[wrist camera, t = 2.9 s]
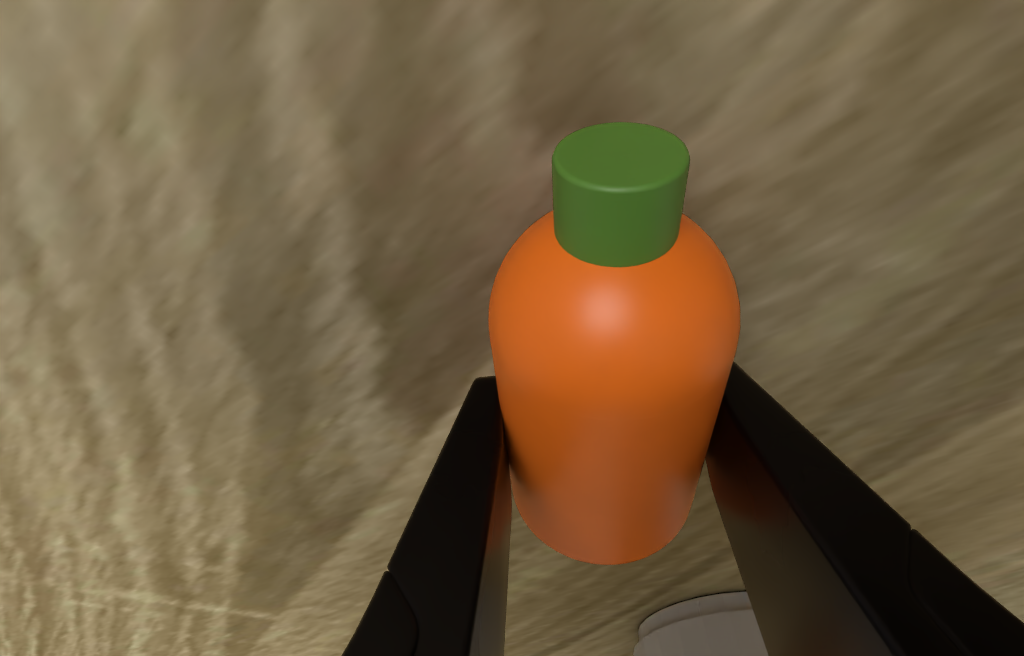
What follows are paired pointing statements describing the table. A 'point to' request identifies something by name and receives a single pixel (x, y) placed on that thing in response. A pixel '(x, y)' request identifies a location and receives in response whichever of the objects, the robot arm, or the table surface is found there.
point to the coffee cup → (703, 629)
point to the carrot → (612, 347)
